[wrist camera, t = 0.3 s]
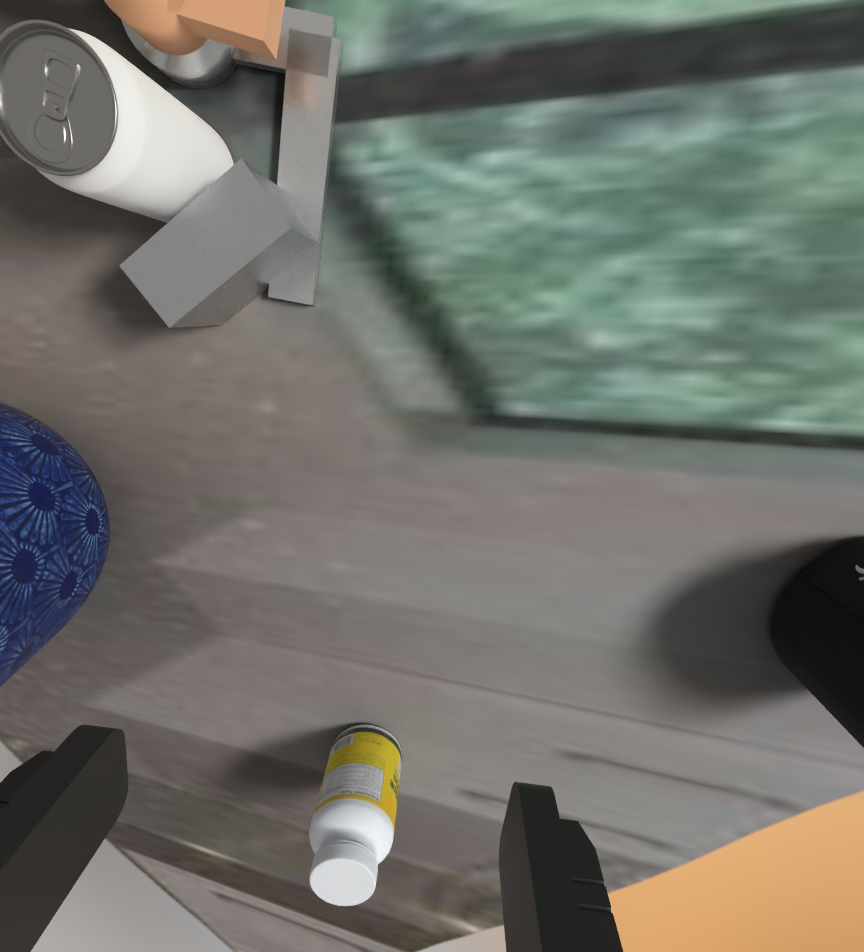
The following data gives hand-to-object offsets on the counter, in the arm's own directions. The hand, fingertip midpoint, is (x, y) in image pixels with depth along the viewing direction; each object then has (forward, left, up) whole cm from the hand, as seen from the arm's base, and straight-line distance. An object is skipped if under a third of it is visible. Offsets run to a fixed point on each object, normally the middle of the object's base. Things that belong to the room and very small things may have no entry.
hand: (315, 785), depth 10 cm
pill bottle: (+29, +1, -29) cm, 41 cm away
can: (-15, -17, -29) cm, 37 cm away
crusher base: (-16, -16, -29) cm, 37 cm away
